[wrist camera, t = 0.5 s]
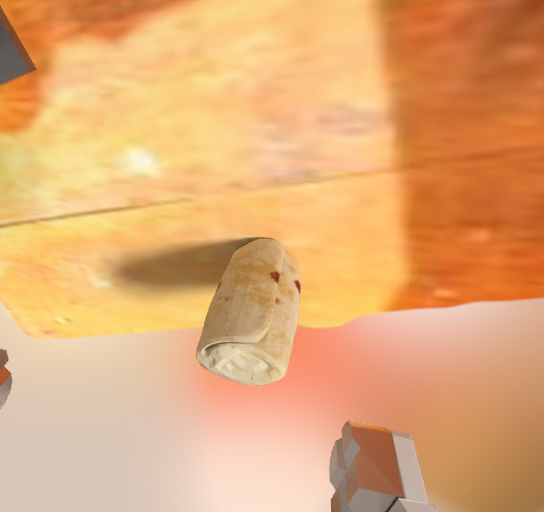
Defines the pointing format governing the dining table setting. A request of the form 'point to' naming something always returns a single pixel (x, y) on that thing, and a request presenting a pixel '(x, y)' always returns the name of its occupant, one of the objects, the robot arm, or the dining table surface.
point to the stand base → (12, 53)
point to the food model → (253, 315)
